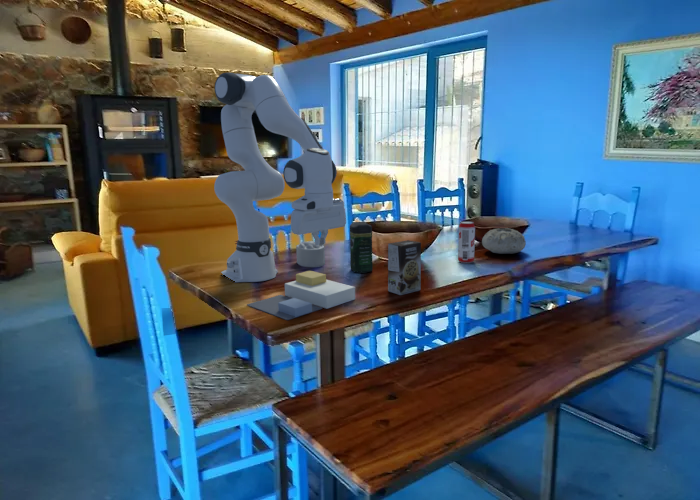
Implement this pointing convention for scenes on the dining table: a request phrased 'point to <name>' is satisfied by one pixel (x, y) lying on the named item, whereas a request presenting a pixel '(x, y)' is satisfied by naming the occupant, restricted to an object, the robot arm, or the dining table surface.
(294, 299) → the blue-grey rectangular block
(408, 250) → the coffee box
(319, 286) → the block
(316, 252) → the lumpy-topped squat cylinder
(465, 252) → the beer can
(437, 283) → the dining table surface
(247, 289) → the dining table surface
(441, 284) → the dining table surface
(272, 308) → the mat
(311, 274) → the olive yellow block
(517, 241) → the grey rounded lump
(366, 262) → the coffee jar
